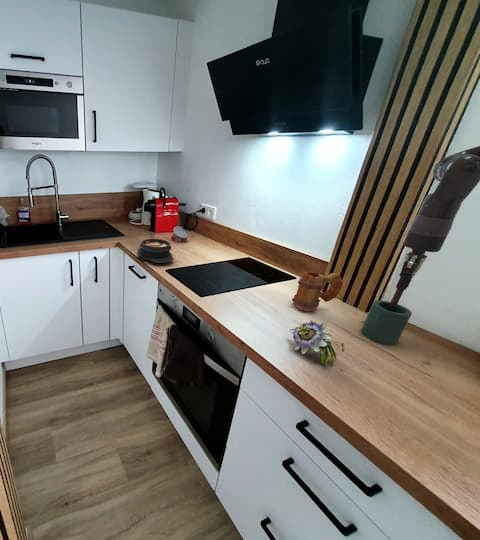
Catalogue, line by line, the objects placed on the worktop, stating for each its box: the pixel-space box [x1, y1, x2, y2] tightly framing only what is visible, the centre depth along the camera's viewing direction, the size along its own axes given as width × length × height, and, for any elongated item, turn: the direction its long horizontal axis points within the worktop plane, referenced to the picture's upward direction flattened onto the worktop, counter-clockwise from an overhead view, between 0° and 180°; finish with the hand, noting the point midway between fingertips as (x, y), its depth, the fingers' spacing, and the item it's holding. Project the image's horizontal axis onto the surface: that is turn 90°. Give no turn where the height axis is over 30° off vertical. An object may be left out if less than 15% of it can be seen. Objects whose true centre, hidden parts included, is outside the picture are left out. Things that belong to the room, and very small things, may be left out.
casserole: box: [137, 238, 174, 264], centre depth 152 cm, size 25×19×8 cm
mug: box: [291, 270, 344, 312], centre depth 105 cm, size 15×8×15 cm, turn 80°
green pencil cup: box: [360, 299, 413, 346], centre depth 91 cm, size 9×9×11 cm
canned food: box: [170, 225, 188, 244], centre depth 183 cm, size 11×10×10 cm
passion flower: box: [289, 320, 346, 366], centre depth 83 cm, size 11×11×12 cm
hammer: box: [387, 272, 410, 312], centre depth 87 cm, size 4×4×18 cm
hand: (401, 287), depth 86 cm, fingers closed on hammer, 2 cm apart
